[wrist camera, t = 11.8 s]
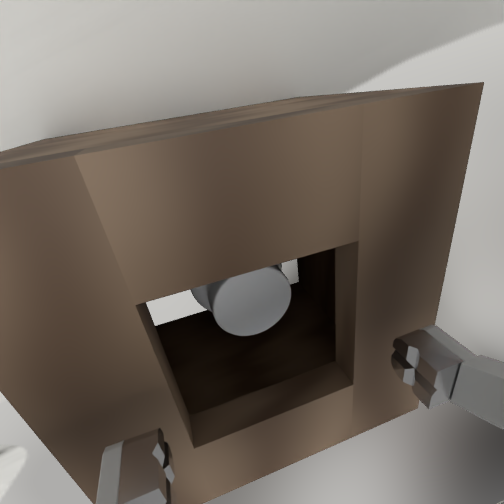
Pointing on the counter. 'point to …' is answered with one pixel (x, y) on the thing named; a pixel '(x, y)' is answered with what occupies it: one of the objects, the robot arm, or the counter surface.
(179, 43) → the counter surface
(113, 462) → the robot arm
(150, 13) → the counter surface
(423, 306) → the box
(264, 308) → the supplement bottle
